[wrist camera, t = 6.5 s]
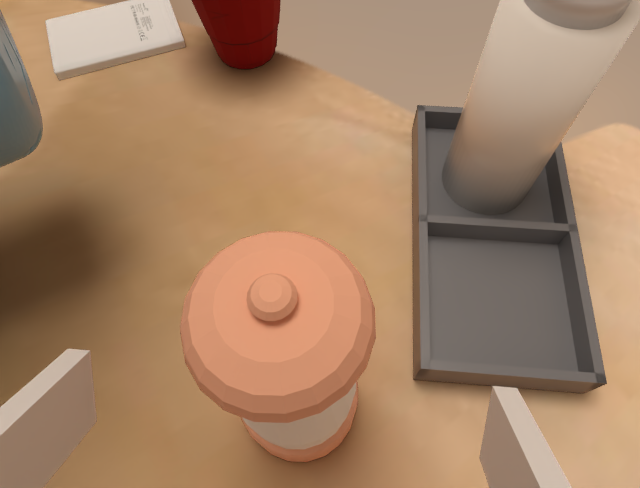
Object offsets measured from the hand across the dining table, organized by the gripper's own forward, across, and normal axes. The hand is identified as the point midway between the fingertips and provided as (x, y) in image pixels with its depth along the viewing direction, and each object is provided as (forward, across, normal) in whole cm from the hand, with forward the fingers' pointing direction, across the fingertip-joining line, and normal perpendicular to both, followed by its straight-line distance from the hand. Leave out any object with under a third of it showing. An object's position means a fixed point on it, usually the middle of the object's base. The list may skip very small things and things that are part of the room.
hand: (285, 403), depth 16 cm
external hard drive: (+38, -23, +14) cm, 47 cm away
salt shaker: (+26, +12, +4) cm, 29 cm away
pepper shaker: (+14, -1, -10) cm, 17 cm away
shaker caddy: (+23, +12, 0) cm, 26 cm away
